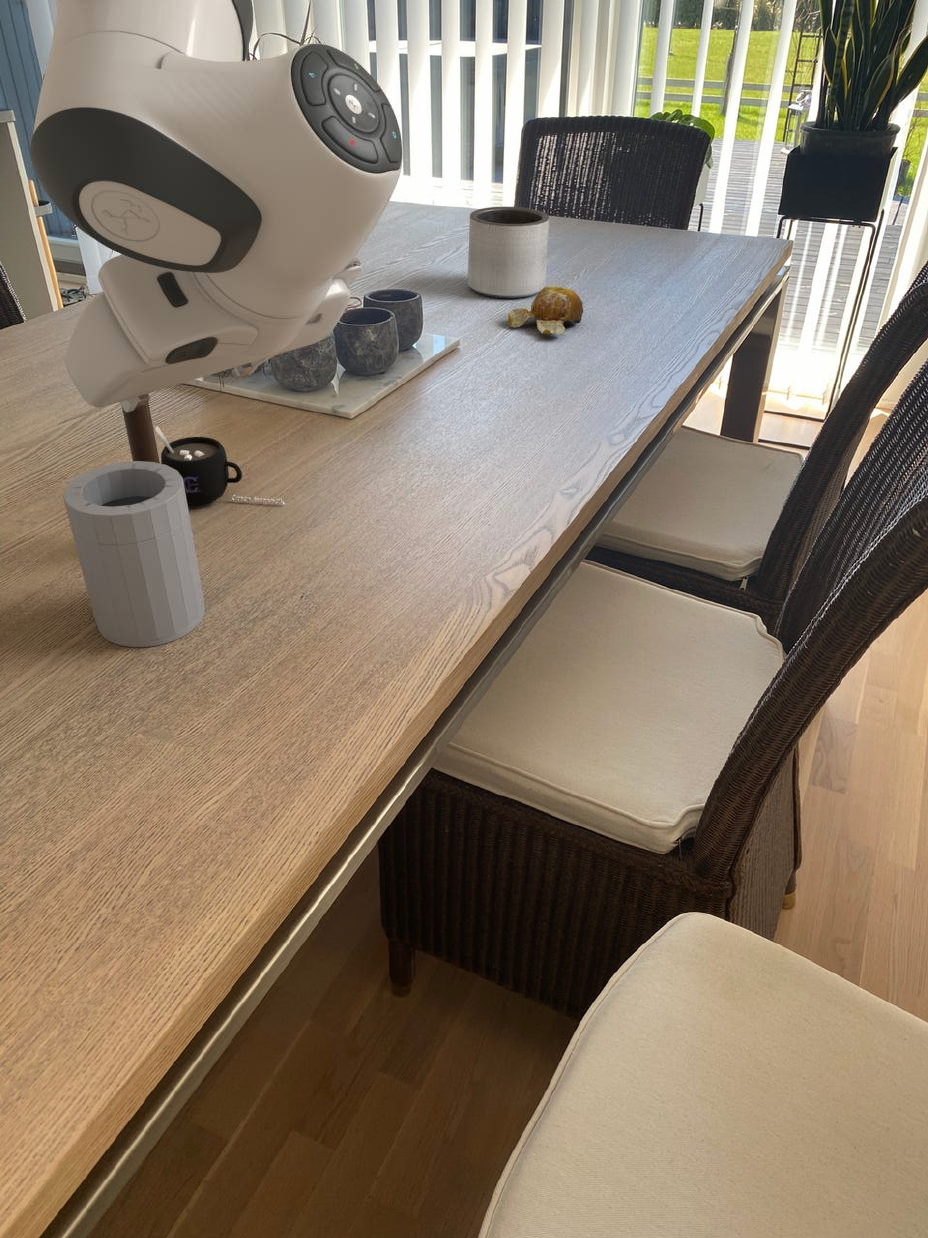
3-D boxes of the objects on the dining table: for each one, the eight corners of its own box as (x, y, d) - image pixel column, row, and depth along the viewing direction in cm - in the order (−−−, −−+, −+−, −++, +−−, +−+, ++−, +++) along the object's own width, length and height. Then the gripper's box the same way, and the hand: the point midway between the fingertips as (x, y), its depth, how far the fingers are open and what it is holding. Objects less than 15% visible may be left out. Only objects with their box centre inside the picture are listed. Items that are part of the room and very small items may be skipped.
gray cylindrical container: (112, 659, 74) (78, 525, 67) (86, 604, 80) (52, 476, 73) (219, 627, 77) (197, 497, 70) (186, 577, 83) (163, 452, 76)
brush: (146, 558, 85) (111, 390, 76) (134, 538, 88) (99, 373, 79) (190, 547, 87) (160, 381, 78) (177, 528, 90) (147, 365, 81)
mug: (156, 510, 93) (142, 440, 88) (180, 481, 98) (167, 413, 93) (275, 520, 91) (267, 449, 87) (293, 489, 96) (286, 421, 92)
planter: (550, 280, 157) (555, 208, 150) (538, 303, 147) (542, 227, 140) (477, 274, 159) (478, 203, 153) (459, 296, 149) (460, 221, 143)
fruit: (498, 322, 138) (499, 289, 136) (546, 307, 145) (548, 276, 142) (554, 339, 132) (556, 305, 130) (601, 323, 139) (604, 290, 136)
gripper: (347, 212, 67) (276, 317, 78) (75, 267, 54) (37, 382, 66) (392, 291, 67) (314, 384, 78) (130, 363, 55) (82, 461, 66)
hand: (185, 384), depth 72 cm, fingers open, 8 cm apart
